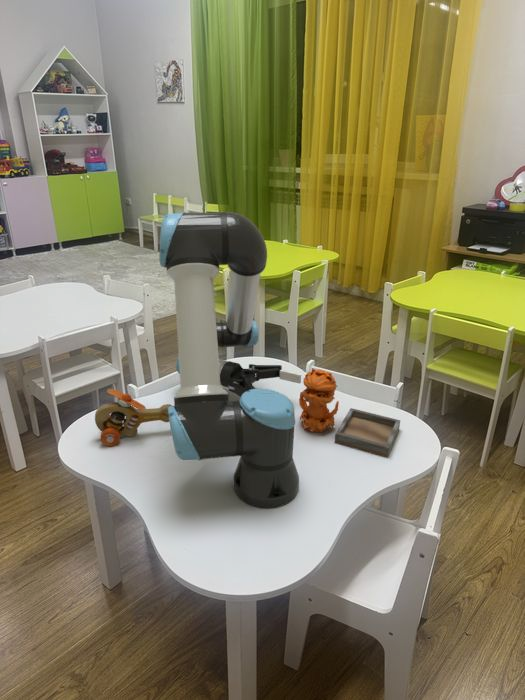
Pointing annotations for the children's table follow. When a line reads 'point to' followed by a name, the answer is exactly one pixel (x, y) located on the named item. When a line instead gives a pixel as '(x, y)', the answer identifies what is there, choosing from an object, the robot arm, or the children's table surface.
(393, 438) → the tray
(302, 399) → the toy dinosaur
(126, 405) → the toy helicopter
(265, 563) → the children's table surface
